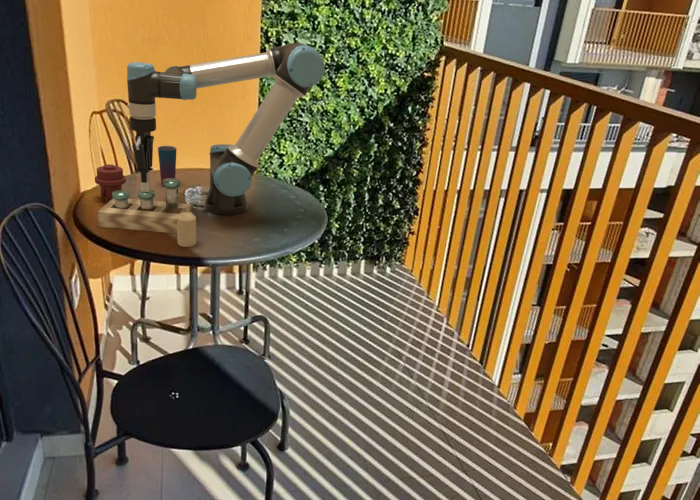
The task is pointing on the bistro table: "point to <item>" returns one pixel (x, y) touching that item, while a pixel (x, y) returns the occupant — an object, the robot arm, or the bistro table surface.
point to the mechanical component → (109, 180)
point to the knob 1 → (121, 198)
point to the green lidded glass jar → (146, 200)
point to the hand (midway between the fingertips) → (145, 191)
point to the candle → (186, 229)
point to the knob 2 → (171, 192)
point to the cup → (167, 162)
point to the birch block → (142, 216)
